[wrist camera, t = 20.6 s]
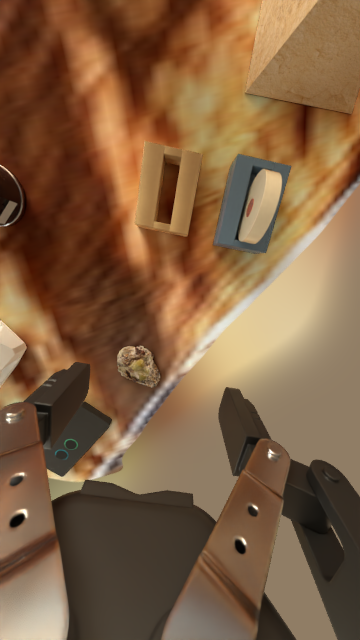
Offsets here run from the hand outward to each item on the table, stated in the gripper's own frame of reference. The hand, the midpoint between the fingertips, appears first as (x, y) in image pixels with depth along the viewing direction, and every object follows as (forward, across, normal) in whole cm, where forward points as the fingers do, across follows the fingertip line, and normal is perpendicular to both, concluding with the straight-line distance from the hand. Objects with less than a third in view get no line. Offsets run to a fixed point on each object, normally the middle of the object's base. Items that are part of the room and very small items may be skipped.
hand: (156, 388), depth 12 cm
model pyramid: (+28, -14, -41) cm, 52 cm away
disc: (+26, -10, -17) cm, 32 cm away
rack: (+28, +4, -17) cm, 33 cm away
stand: (+28, -9, -17) cm, 34 cm away
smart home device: (+28, +17, +36) cm, 49 cm away
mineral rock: (+28, +4, +15) cm, 32 cm away
